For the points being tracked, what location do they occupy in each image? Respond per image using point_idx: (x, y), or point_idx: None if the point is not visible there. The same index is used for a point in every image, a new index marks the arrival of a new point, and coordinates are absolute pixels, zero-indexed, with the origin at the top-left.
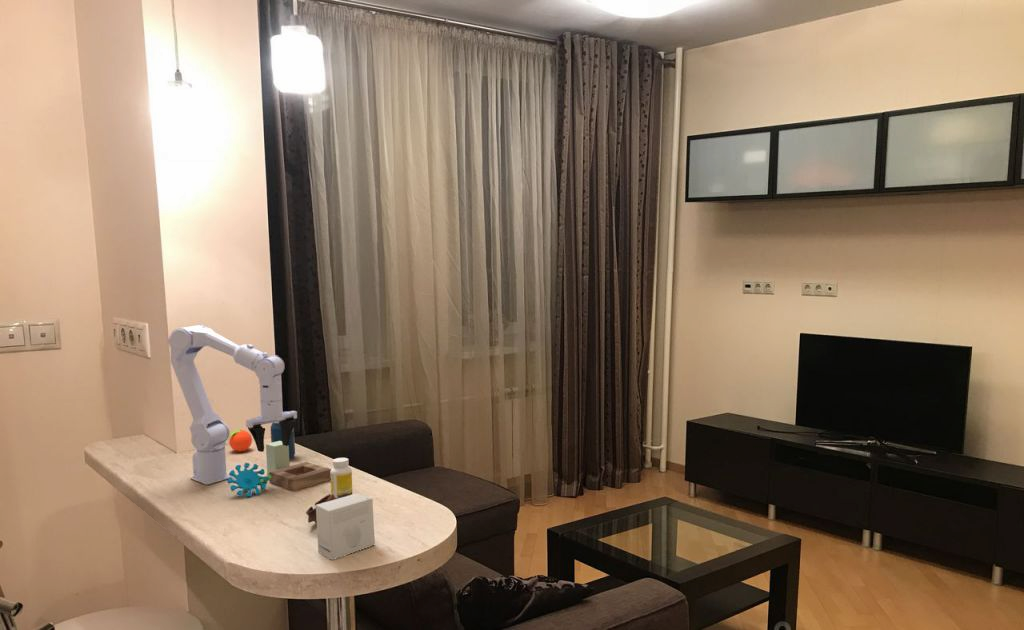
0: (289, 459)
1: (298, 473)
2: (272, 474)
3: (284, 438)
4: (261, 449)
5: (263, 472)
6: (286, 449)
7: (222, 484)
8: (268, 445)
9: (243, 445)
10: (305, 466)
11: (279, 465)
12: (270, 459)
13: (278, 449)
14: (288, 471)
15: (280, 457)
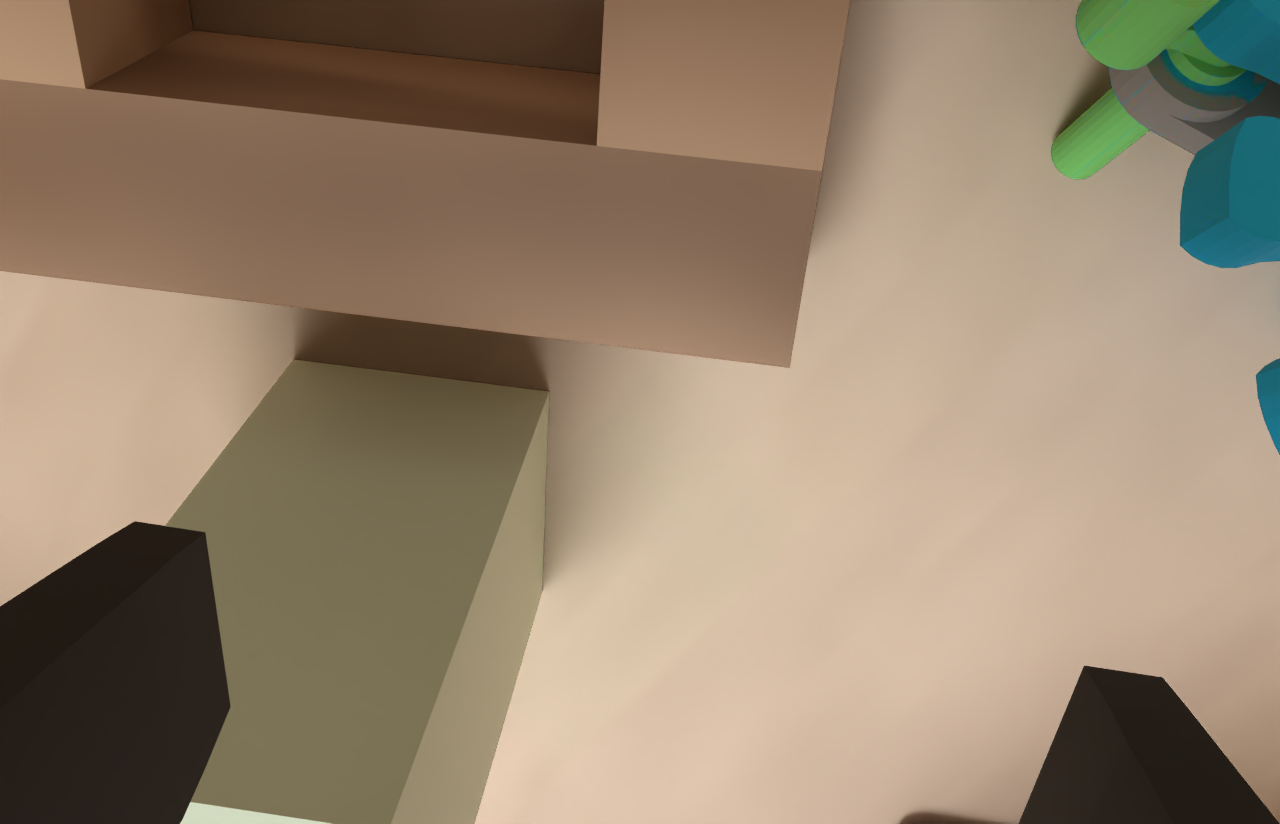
0: None
1: (274, 66)
2: (809, 238)
3: (86, 815)
4: (1212, 739)
5: (1273, 133)
6: None
7: None
8: None
9: None
10: (71, 5)
11: (425, 488)
12: (482, 701)
13: (316, 733)
14: (476, 119)
15: (344, 585)
